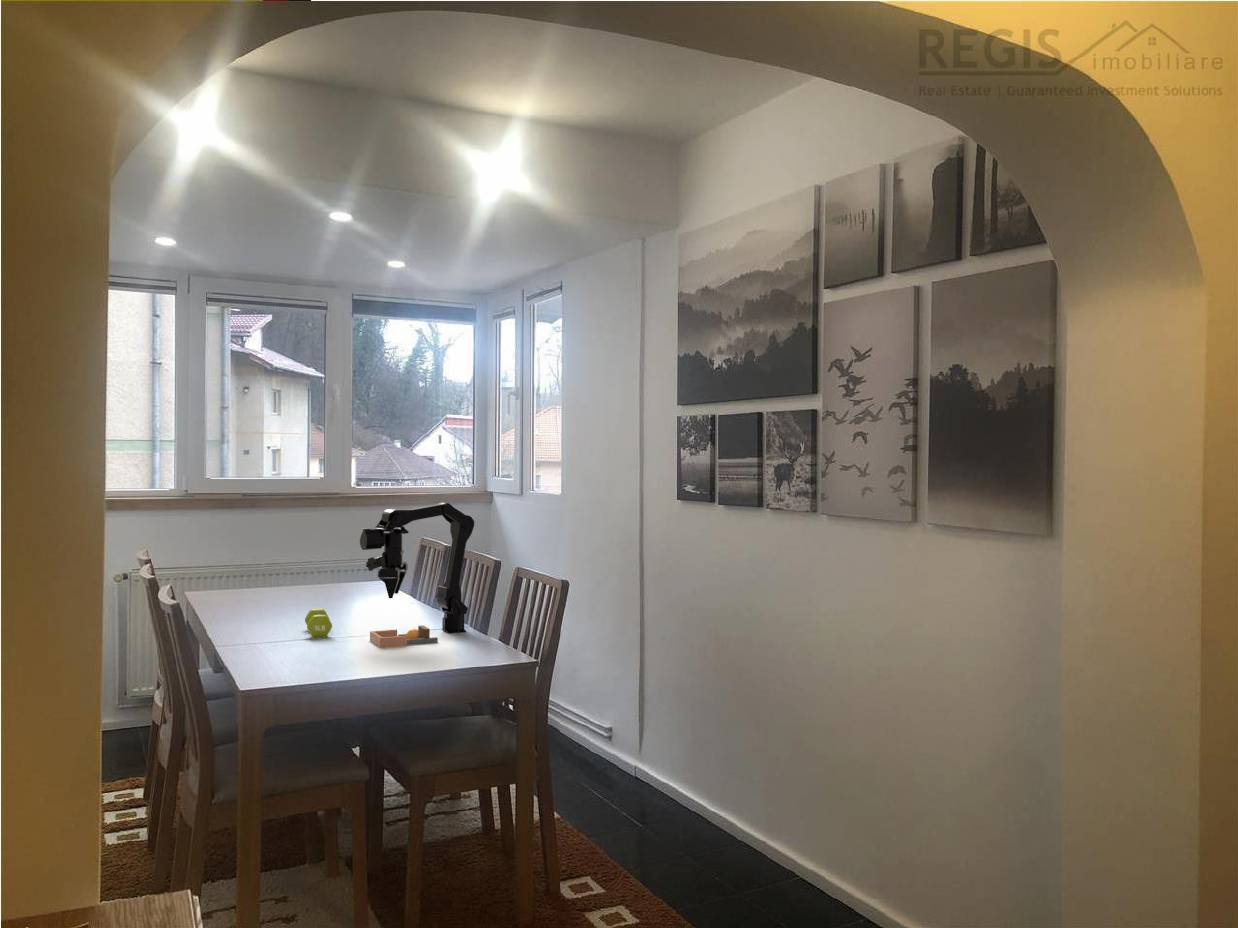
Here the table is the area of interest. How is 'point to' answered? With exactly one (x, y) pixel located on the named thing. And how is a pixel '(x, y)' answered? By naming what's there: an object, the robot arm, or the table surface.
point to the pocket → (387, 638)
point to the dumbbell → (318, 623)
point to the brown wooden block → (424, 632)
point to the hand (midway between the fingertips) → (393, 595)
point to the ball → (413, 634)
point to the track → (420, 640)
